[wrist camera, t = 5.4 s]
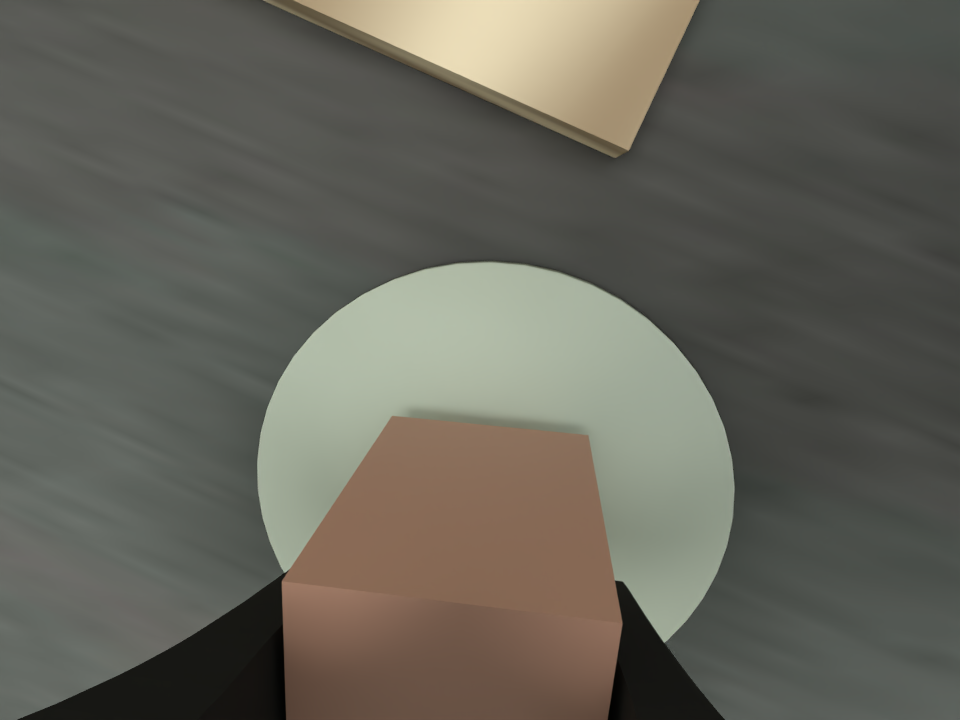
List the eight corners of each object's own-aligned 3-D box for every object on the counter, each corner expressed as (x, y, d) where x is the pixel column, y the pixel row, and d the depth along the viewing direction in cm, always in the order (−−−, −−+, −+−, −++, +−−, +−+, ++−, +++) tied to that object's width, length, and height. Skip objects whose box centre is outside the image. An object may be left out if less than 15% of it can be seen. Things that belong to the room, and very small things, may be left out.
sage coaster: (822, 385, 14) (834, 393, 14) (596, 743, 17) (597, 762, 17) (354, 177, 14) (346, 177, 13) (215, 578, 17) (204, 591, 17)
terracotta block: (588, 434, 13) (622, 623, 8) (567, 604, 14) (583, 876, 9) (391, 415, 14) (281, 580, 8) (388, 582, 15) (289, 830, 9)
